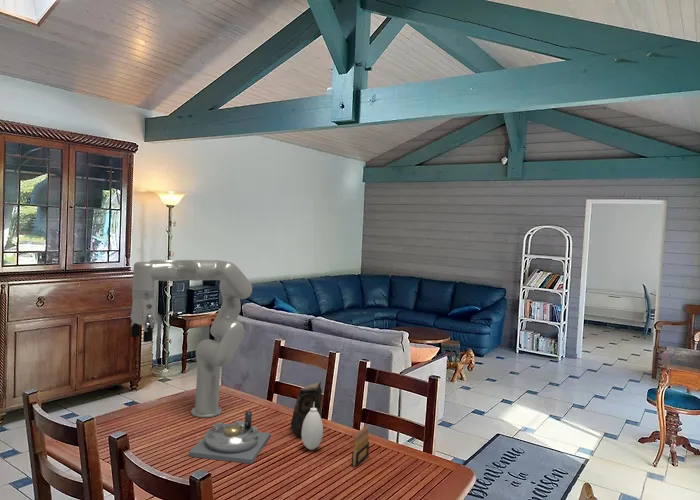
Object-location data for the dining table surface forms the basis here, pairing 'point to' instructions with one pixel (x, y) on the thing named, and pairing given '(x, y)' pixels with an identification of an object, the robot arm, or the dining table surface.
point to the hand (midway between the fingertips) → (141, 339)
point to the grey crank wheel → (232, 436)
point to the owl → (306, 406)
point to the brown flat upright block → (360, 447)
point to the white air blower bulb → (312, 429)
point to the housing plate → (242, 457)
